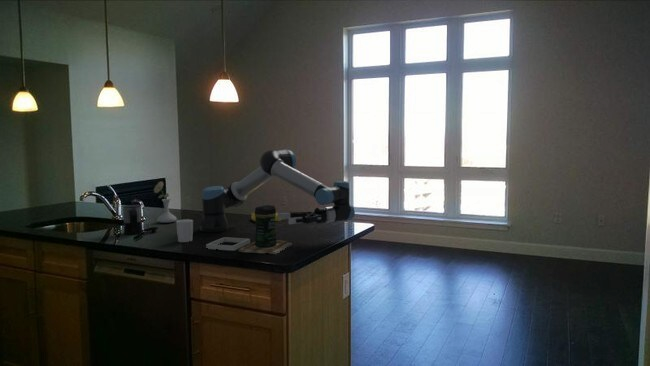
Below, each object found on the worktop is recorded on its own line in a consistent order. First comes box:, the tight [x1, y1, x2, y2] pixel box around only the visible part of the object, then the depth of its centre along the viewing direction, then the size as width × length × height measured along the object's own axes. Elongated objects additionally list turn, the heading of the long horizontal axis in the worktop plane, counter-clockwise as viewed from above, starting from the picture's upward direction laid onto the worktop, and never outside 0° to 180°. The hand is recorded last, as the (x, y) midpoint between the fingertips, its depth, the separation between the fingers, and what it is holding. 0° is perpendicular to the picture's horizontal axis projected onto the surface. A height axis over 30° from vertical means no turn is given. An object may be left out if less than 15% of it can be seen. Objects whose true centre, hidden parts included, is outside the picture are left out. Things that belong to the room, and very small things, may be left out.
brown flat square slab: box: [238, 239, 293, 255], centre depth 216 cm, size 18×18×2 cm
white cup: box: [175, 218, 194, 243], centre depth 233 cm, size 8×8×10 cm
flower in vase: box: [153, 180, 178, 224], centre depth 283 cm, size 13×11×25 cm
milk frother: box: [122, 204, 159, 236], centre depth 254 cm, size 14×16×15 cm
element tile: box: [251, 212, 282, 223], centre depth 290 cm, size 15×15×5 cm
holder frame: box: [205, 236, 251, 251], centre depth 221 cm, size 14×16×2 cm
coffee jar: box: [254, 204, 277, 248], centre depth 215 cm, size 10×8×19 cm
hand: (282, 219), depth 218 cm, fingers open, 13 cm apart
